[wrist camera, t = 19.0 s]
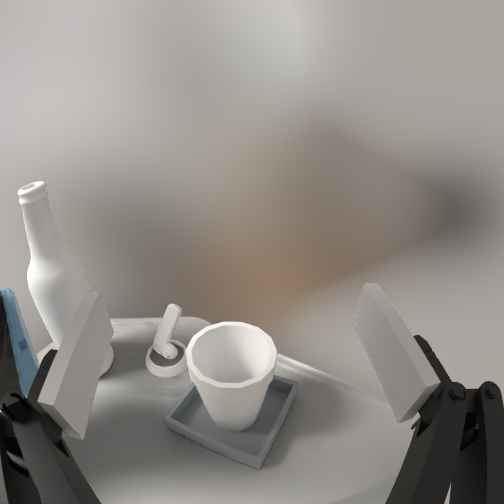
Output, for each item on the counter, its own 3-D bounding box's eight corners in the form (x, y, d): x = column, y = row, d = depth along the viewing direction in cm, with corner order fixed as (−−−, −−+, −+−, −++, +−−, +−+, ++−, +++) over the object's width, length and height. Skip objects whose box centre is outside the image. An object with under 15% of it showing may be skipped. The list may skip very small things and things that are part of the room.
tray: (168, 428, 33) (163, 418, 32) (215, 365, 44) (214, 353, 42) (259, 470, 28) (260, 462, 27) (296, 394, 39) (298, 383, 37)
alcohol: (100, 388, 37) (26, 198, 23) (61, 372, 38) (-11, 200, 24) (123, 349, 45) (76, 173, 30) (85, 338, 46) (34, 176, 31)
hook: (218, 317, 46) (200, 322, 39) (190, 377, 46) (170, 389, 40) (180, 295, 48) (158, 296, 41) (155, 354, 48) (133, 362, 41)
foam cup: (250, 377, 41) (251, 312, 35) (281, 424, 34) (294, 366, 28) (190, 398, 37) (174, 335, 31) (215, 451, 30) (203, 400, 24)
